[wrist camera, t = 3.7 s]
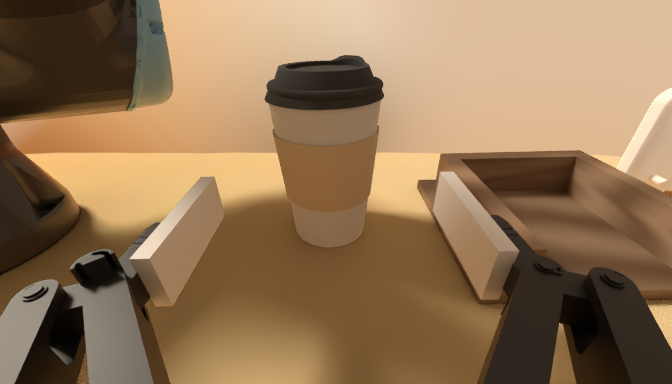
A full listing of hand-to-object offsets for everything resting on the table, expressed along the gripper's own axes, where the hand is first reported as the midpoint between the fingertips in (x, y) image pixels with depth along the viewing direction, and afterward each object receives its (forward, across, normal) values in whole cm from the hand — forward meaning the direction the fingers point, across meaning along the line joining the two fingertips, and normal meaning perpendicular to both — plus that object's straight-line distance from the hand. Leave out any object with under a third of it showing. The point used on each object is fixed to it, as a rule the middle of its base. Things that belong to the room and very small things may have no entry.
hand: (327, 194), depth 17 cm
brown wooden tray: (+6, +19, -8) cm, 22 cm away
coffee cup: (+8, 0, -9) cm, 12 cm away
